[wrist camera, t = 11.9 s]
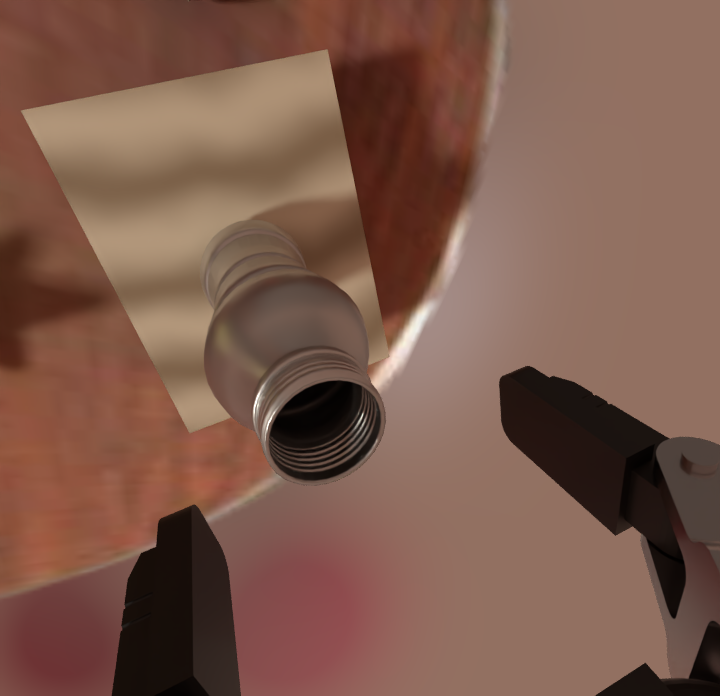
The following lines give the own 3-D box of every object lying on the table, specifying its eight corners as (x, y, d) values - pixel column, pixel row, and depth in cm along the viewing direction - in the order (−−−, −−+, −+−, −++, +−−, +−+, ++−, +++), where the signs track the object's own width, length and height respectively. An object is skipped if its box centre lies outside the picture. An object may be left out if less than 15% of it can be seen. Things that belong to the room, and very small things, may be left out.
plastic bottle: (310, 235, 29) (468, 353, 12) (277, 322, 31) (376, 530, 14) (217, 197, 27) (254, 285, 9) (187, 296, 28) (173, 519, 11)
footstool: (60, 120, 29) (20, 110, 22) (298, 71, 32) (327, 49, 26) (189, 384, 39) (189, 433, 32) (357, 324, 43) (389, 356, 36)
